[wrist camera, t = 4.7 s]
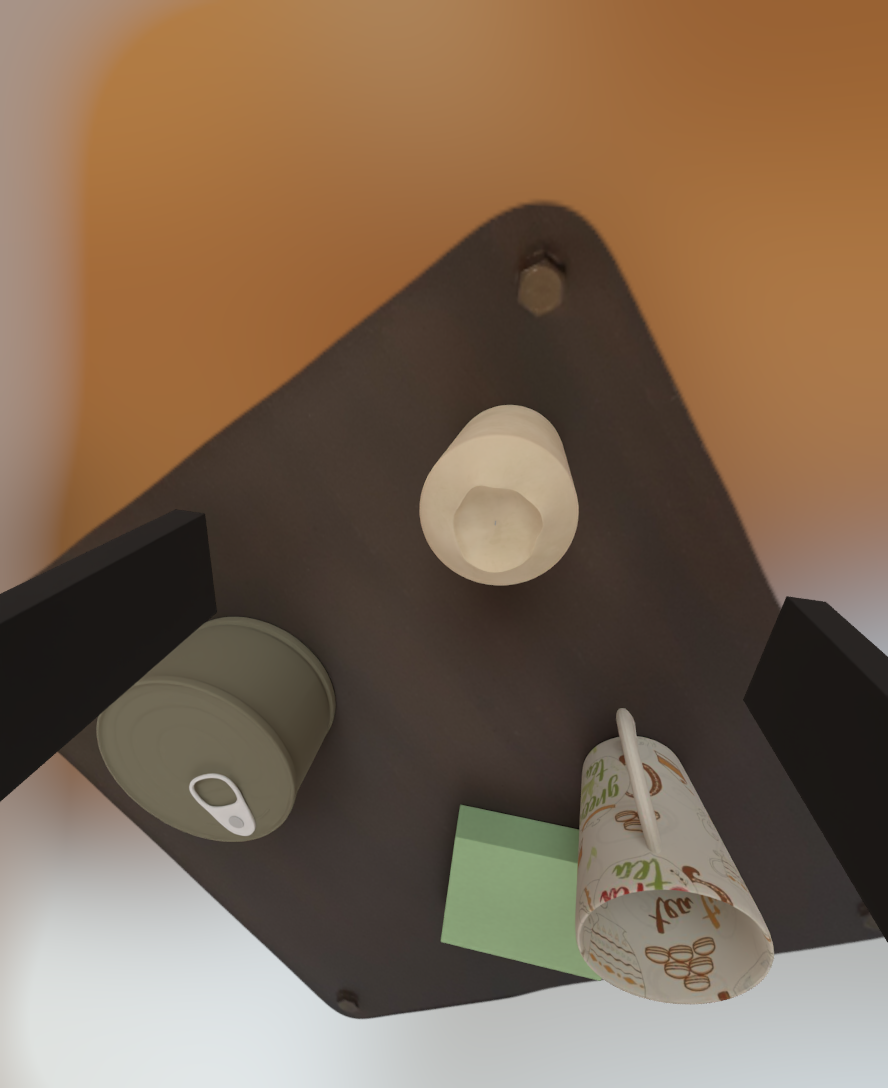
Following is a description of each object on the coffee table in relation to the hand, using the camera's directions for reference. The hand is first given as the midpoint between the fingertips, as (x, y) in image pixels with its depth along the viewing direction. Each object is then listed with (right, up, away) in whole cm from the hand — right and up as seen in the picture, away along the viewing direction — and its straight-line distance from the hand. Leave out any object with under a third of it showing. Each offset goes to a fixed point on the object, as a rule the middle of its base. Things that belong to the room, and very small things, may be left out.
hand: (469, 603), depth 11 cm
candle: (+3, +6, +13) cm, 15 cm away
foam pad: (+6, -23, +25) cm, 35 cm away
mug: (+11, -11, +19) cm, 25 cm away
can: (-14, -9, +22) cm, 28 cm away
